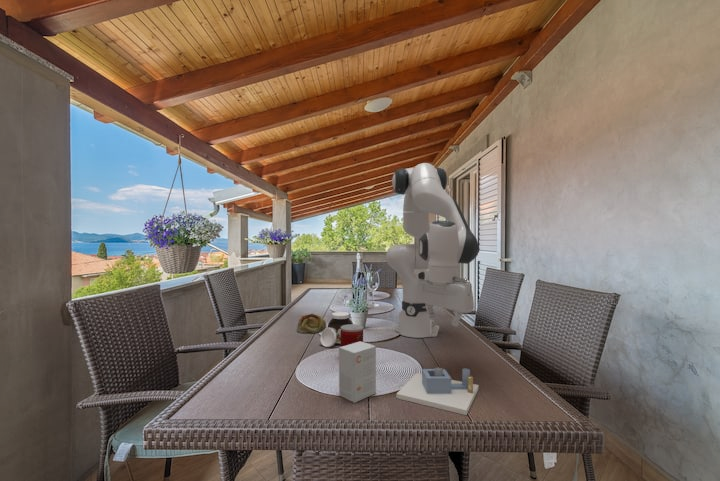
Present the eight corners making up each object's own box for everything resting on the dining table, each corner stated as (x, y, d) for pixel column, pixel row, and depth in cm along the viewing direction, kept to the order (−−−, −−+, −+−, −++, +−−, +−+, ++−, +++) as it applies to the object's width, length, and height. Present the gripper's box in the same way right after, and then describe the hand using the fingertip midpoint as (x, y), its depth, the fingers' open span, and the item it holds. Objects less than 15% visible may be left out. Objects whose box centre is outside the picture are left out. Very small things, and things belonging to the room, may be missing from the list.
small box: (360, 386, 99) (360, 340, 99) (376, 393, 94) (376, 345, 94) (338, 395, 93) (338, 346, 93) (354, 403, 89) (354, 352, 89)
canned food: (360, 363, 117) (360, 330, 116) (337, 361, 118) (337, 329, 118) (365, 355, 124) (365, 324, 124) (343, 354, 126) (343, 323, 126)
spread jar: (354, 340, 142) (354, 312, 141) (349, 349, 130) (349, 318, 130) (326, 339, 144) (326, 311, 144) (318, 347, 133) (318, 317, 132)
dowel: (468, 390, 94) (468, 375, 94) (473, 391, 93) (473, 376, 93) (466, 392, 93) (467, 377, 93) (472, 393, 92) (472, 378, 92)
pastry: (301, 335, 149) (301, 317, 149) (293, 328, 160) (293, 311, 160) (332, 332, 155) (332, 314, 155) (322, 325, 166) (322, 308, 166)
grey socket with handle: (465, 382, 99) (465, 365, 98) (473, 393, 92) (473, 374, 92) (422, 383, 98) (422, 365, 98) (426, 393, 92) (427, 374, 92)
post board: (416, 376, 106) (416, 354, 106) (478, 389, 97) (478, 365, 97) (396, 398, 92) (396, 372, 92) (466, 415, 83) (466, 387, 83)
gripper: (479, 278, 96) (478, 328, 96) (427, 271, 113) (427, 314, 113) (463, 280, 92) (462, 332, 93) (412, 273, 110) (412, 316, 110)
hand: (442, 322), depth 103 cm, fingers open, 8 cm apart
